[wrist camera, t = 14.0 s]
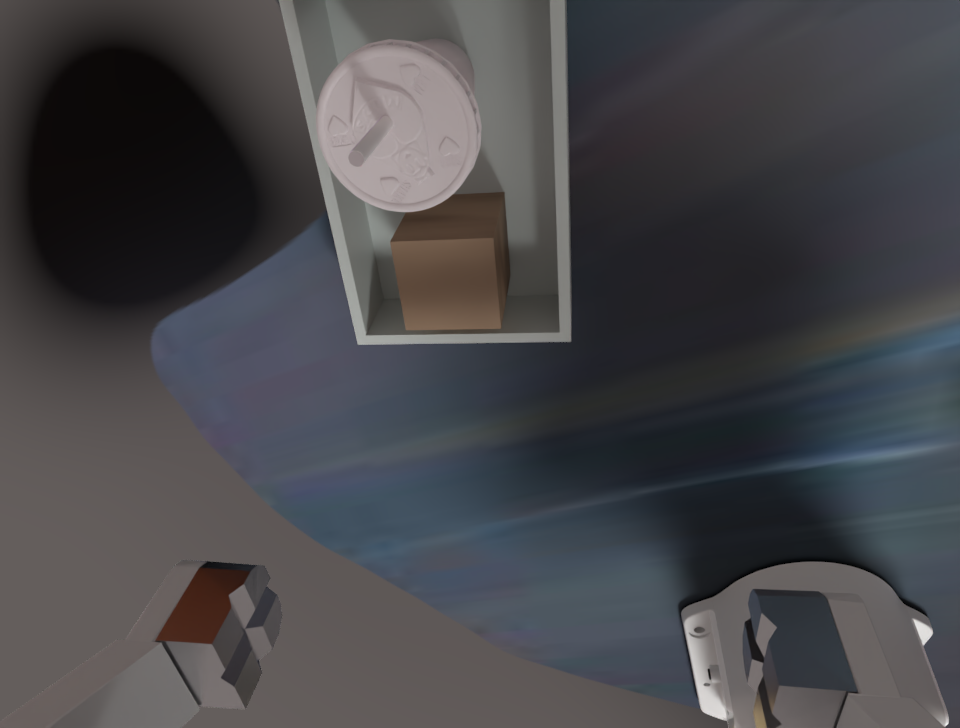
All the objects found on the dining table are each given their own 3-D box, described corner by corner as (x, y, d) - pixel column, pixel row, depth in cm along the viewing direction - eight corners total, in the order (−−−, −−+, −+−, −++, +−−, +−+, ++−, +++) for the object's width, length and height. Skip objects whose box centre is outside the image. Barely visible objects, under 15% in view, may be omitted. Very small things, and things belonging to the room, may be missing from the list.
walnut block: (510, 274, 39) (501, 328, 34) (426, 277, 40) (405, 330, 35) (504, 191, 36) (493, 237, 32) (414, 196, 37) (389, 241, 32)
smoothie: (453, -24, 31) (382, 23, 20) (526, 100, 34) (500, 205, 22) (349, 57, 33) (231, 141, 22) (424, 166, 36) (354, 291, 25)
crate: (571, 296, 41) (571, 341, 36) (379, 301, 42) (357, 344, 38) (565, -54, 30) (563, -45, 26) (313, -28, 32) (274, -17, 28)
